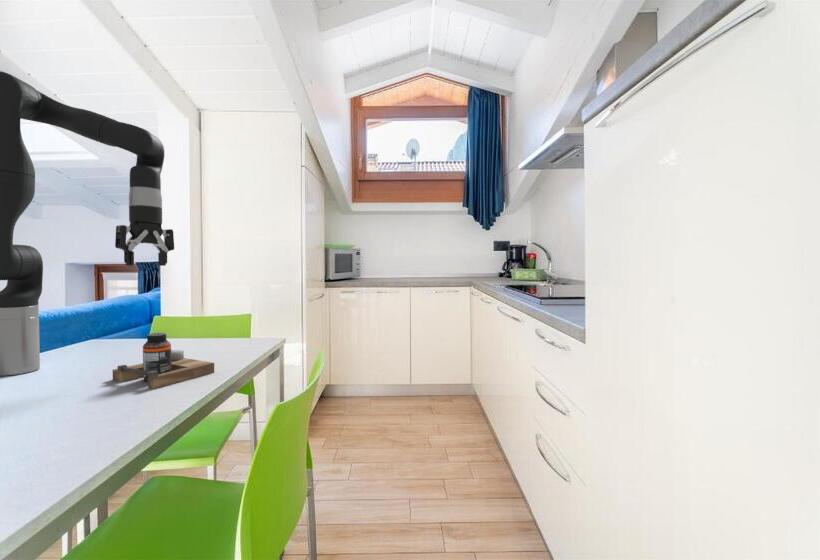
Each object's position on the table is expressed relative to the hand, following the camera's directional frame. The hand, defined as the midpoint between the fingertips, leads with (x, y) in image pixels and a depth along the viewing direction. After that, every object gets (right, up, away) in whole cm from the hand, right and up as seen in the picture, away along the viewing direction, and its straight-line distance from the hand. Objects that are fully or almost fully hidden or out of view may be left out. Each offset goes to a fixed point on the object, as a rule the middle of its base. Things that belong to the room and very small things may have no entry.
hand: (146, 265), depth 109 cm
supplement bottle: (+9, -29, -9) cm, 32 cm away
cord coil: (+7, -26, 0) cm, 27 cm away
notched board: (+9, -29, -7) cm, 31 cm away
